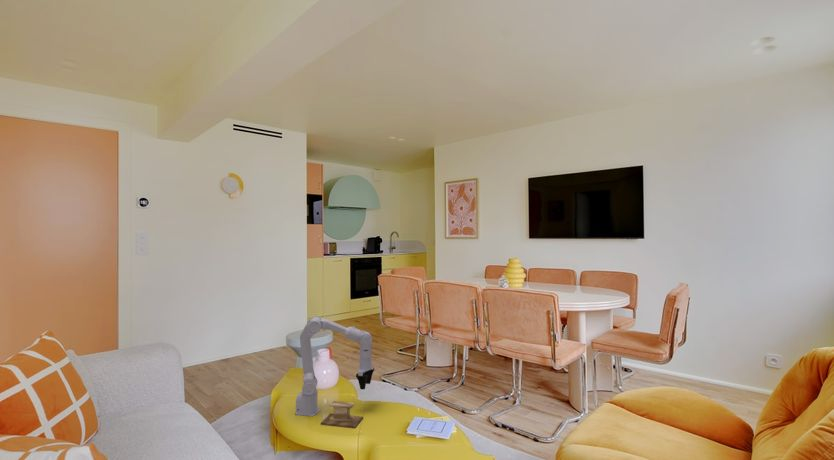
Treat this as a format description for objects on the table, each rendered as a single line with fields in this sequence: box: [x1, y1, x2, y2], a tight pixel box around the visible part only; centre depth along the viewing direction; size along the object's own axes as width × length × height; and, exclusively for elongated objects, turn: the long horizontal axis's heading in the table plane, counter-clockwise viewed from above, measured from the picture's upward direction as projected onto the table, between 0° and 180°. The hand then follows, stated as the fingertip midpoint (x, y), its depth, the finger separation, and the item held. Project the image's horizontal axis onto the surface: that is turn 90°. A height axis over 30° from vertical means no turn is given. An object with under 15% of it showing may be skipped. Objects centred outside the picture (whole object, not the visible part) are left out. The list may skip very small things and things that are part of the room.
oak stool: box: [329, 400, 355, 423], centre depth 177 cm, size 4×10×7 cm, turn 77°
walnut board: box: [320, 413, 364, 429], centre depth 176 cm, size 16×10×1 cm, turn 78°
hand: (365, 386), depth 191 cm, fingers open, 7 cm apart
